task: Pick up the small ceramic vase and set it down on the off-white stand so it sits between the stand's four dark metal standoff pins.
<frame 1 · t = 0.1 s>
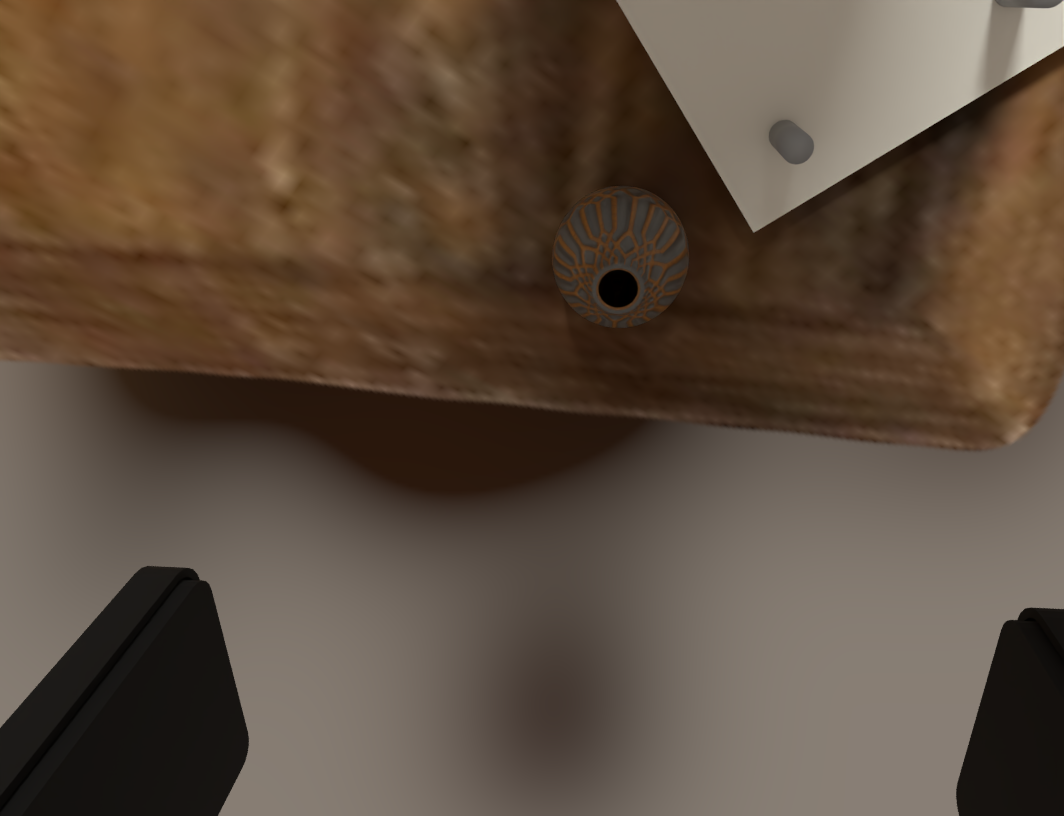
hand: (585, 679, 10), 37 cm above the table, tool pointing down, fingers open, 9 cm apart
vase: (621, 237, 45), on the table
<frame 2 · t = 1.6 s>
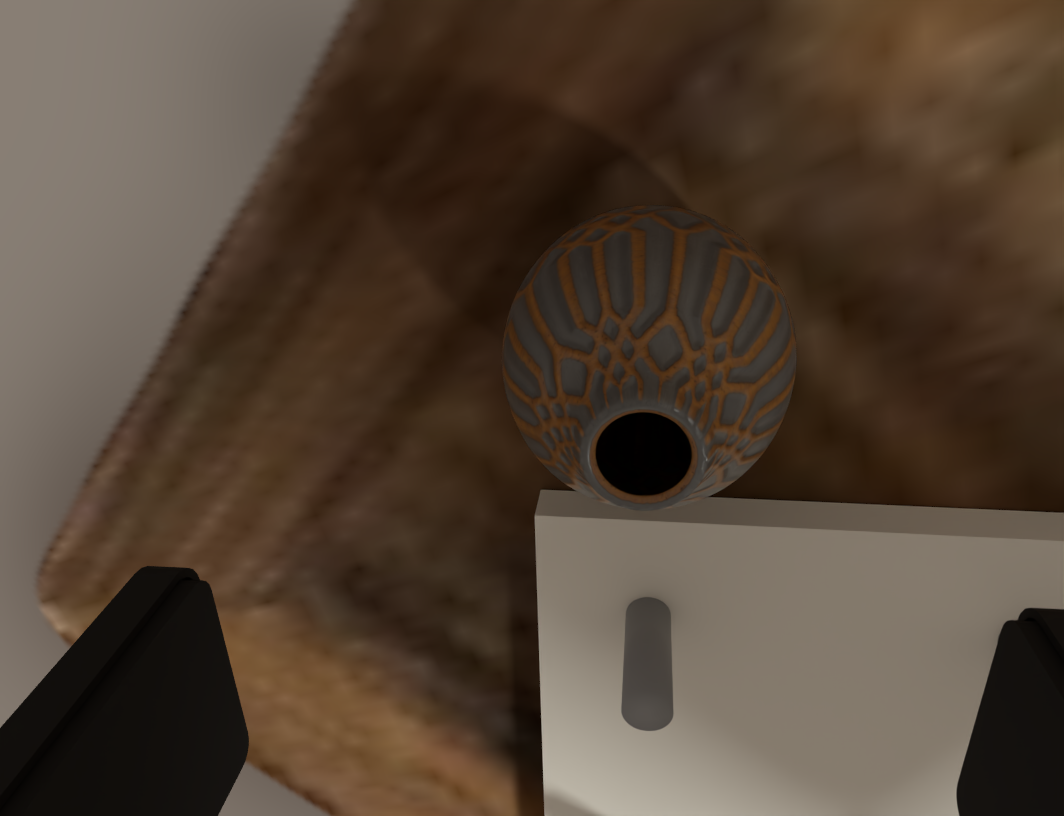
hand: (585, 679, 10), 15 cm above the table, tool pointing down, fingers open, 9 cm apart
stand: (802, 721, 29), on the table
vase: (647, 304, 23), on the table
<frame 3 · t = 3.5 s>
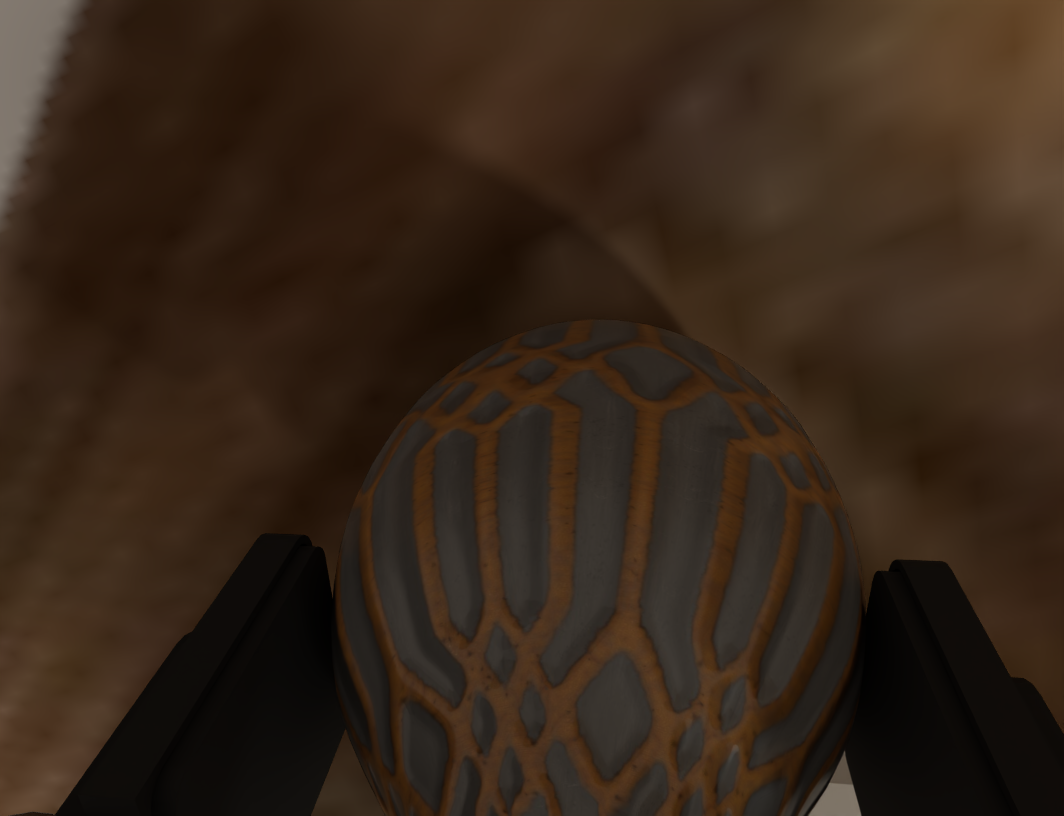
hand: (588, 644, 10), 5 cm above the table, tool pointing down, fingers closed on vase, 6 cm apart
vase: (604, 447, 15), on the table, touching gripper
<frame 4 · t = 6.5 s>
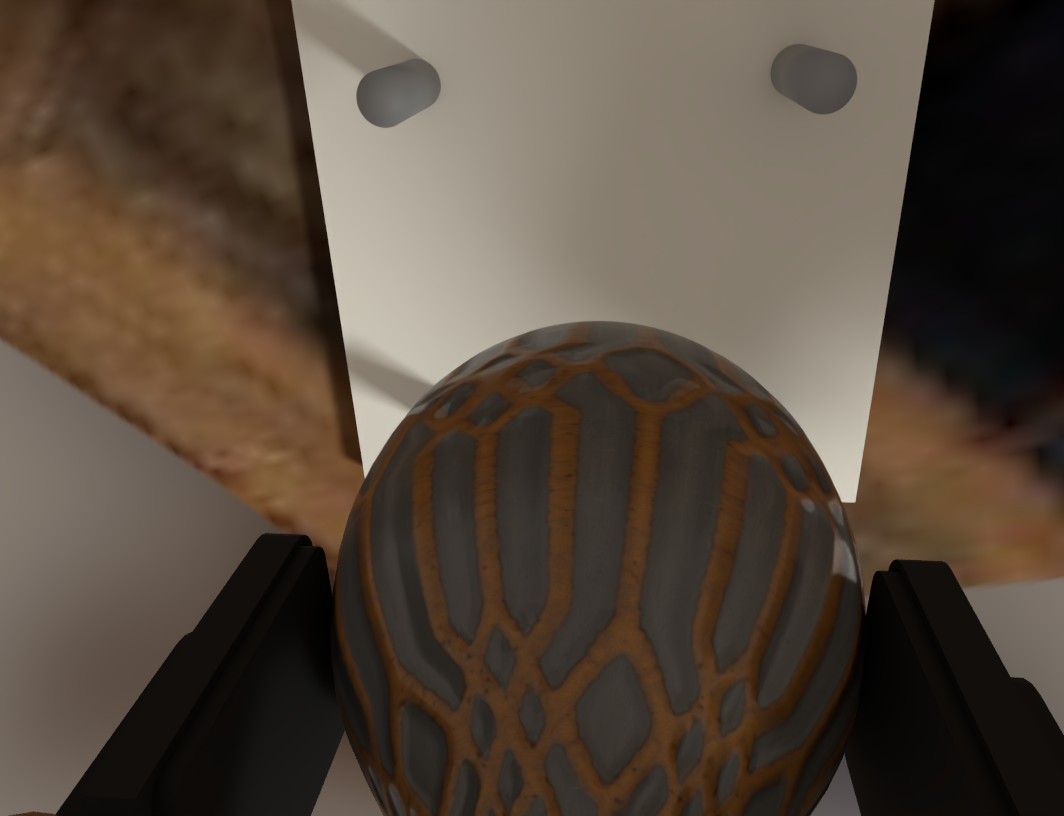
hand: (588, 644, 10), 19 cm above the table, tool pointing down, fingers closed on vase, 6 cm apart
stand: (603, 248, 28), on the table
vase: (603, 449, 15), point 14 cm above the table, touching gripper
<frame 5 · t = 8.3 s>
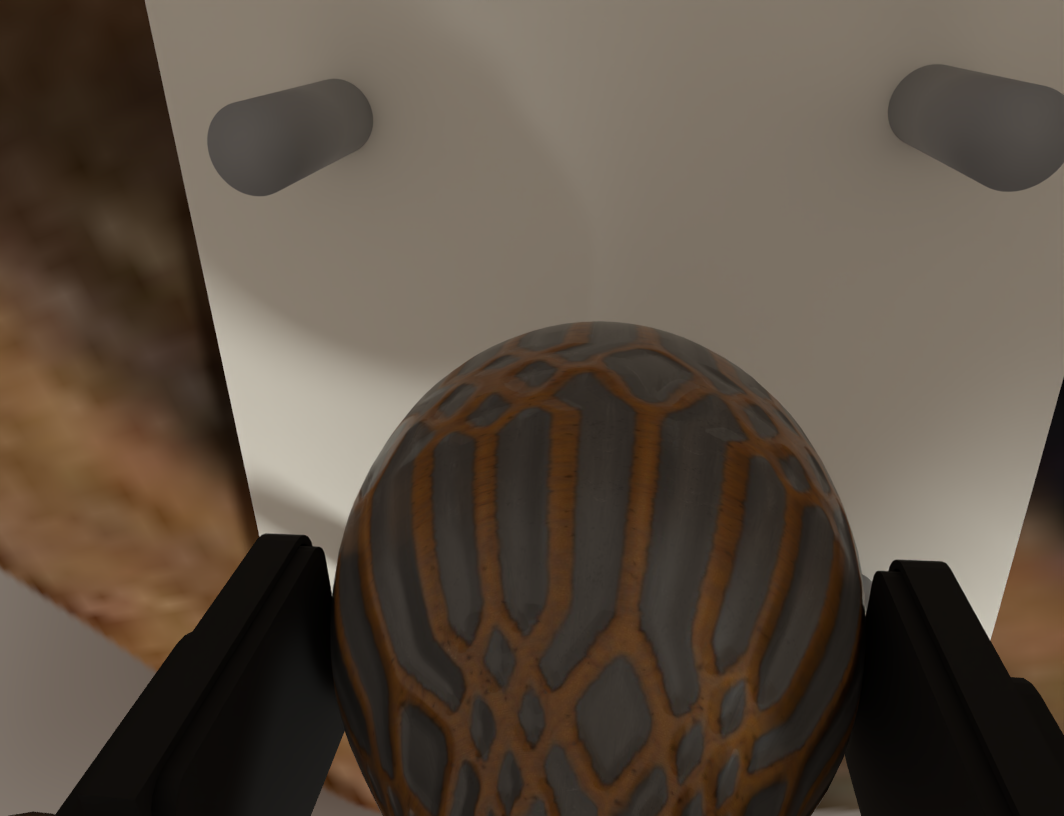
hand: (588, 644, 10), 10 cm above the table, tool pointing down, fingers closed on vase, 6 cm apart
stand: (618, 353, 19), on the table
vase: (603, 449, 15), point 5 cm above the table, touching gripper
when the fingers open (8 cm above the table, at t = 9.6 s): vase drops 2 cm, resting on stand.
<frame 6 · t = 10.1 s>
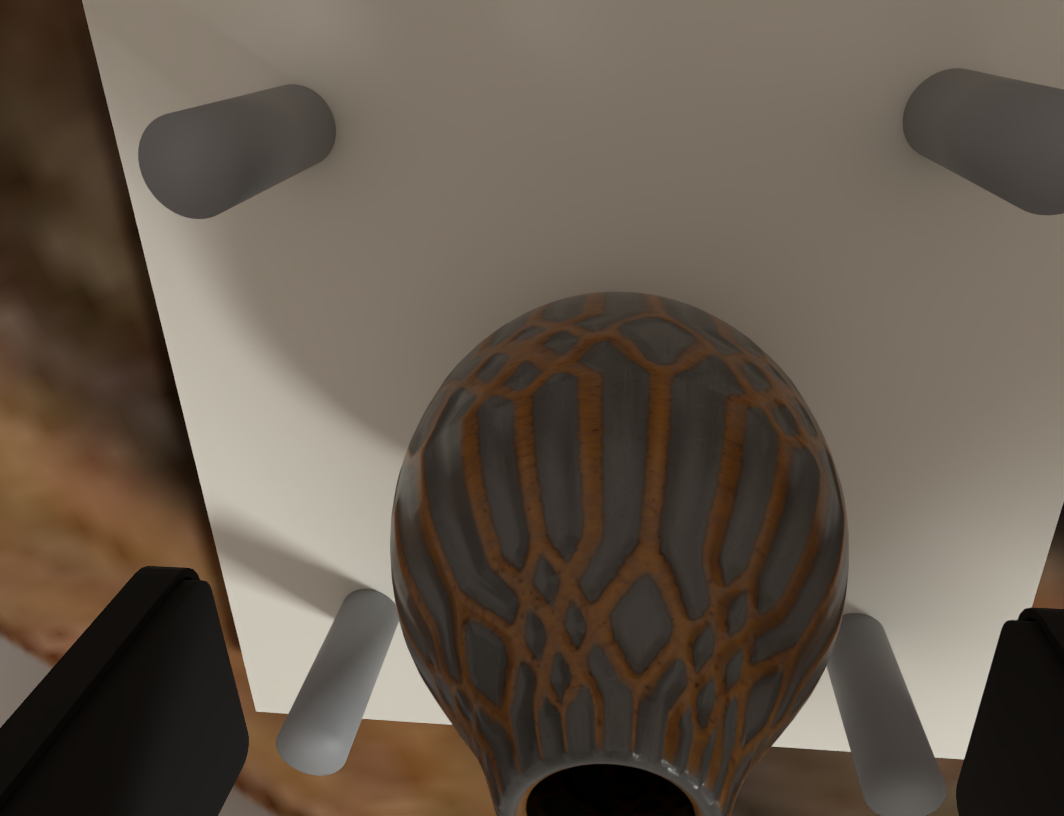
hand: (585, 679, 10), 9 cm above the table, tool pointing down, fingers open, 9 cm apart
stand: (607, 379, 18), on the table
vase: (615, 404, 16), point 1 cm above the table, touching stand
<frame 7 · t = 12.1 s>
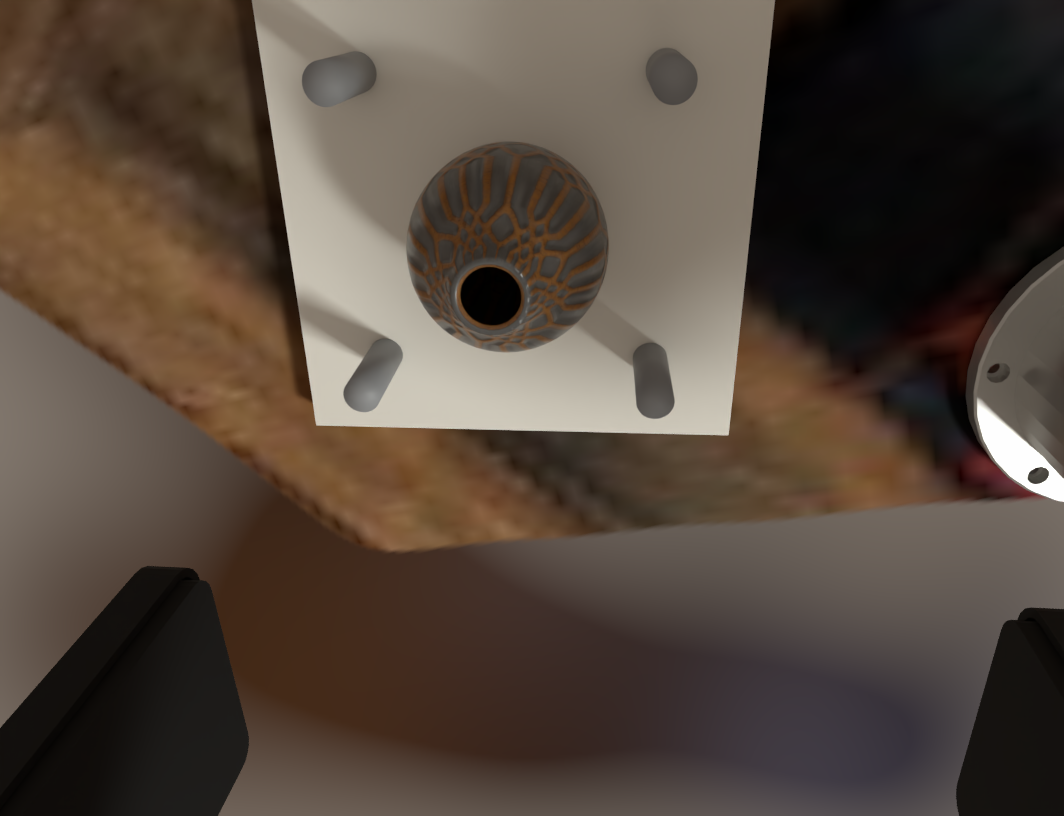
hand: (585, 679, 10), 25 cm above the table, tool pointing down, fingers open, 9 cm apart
stand: (516, 215, 33), on the table
vase: (518, 220, 32), point 1 cm above the table, touching stand
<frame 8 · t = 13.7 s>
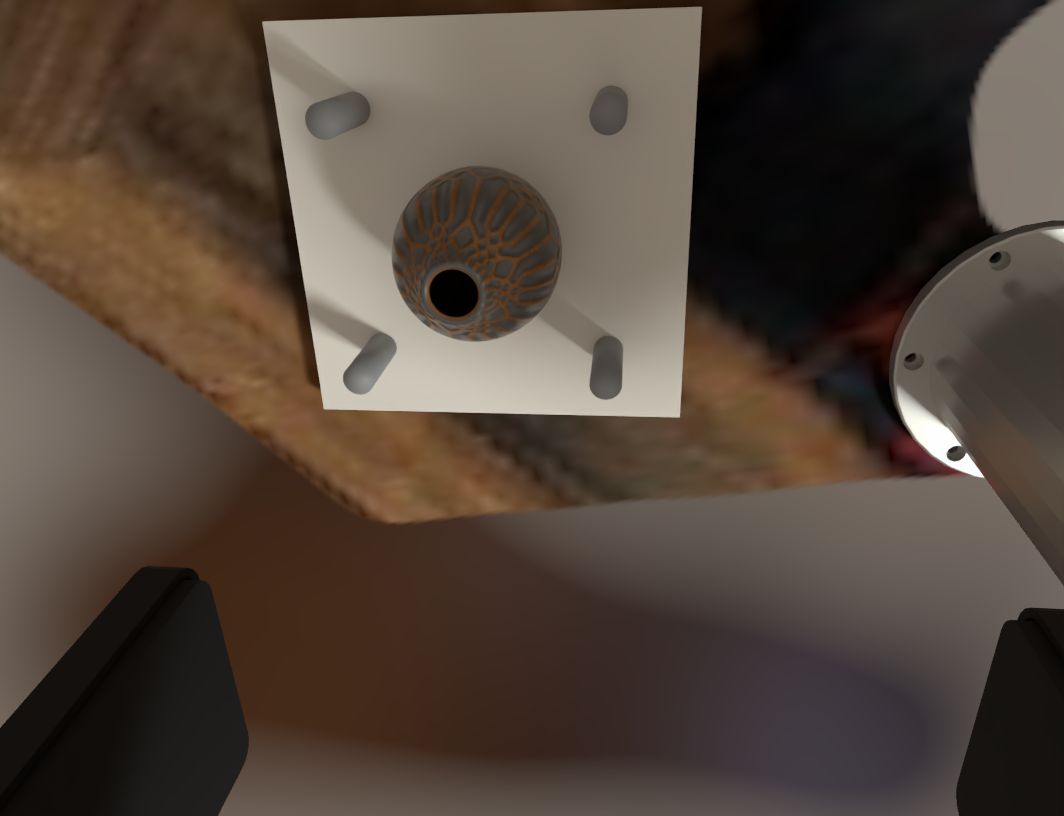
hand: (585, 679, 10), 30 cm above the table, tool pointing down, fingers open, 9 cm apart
stand: (492, 227, 38), on the table
vase: (492, 231, 37), point 1 cm above the table, touching stand
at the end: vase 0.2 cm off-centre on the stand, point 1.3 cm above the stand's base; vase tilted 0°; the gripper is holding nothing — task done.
